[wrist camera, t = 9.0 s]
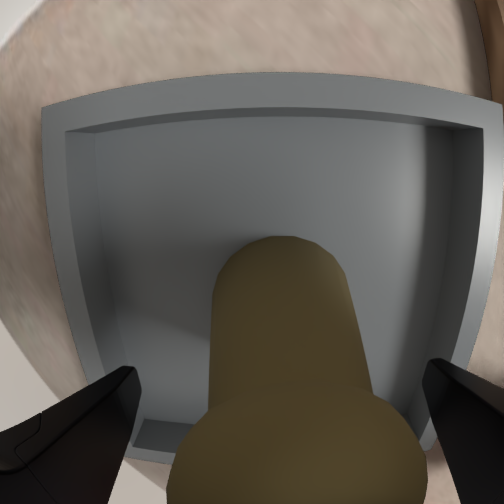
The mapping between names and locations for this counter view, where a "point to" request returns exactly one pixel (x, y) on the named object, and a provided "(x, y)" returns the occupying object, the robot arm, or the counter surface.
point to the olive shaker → (292, 393)
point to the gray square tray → (270, 222)
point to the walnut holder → (493, 44)
